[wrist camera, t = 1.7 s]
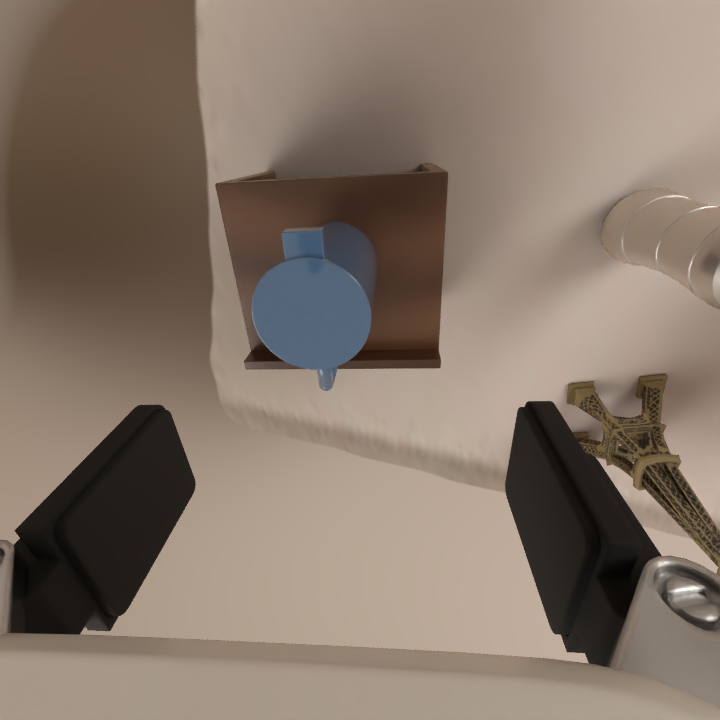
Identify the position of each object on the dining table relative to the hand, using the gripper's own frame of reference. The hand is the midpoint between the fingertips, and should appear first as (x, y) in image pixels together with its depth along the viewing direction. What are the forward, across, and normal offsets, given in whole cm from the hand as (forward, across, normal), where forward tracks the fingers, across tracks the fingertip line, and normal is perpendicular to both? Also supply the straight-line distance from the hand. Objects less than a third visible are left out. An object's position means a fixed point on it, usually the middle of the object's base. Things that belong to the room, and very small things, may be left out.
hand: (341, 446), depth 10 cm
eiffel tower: (+33, -28, +24) cm, 49 cm away
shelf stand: (+33, +3, +1) cm, 33 cm away
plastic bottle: (+33, -24, +1) cm, 41 cm away
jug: (+21, +3, 0) cm, 21 cm away
